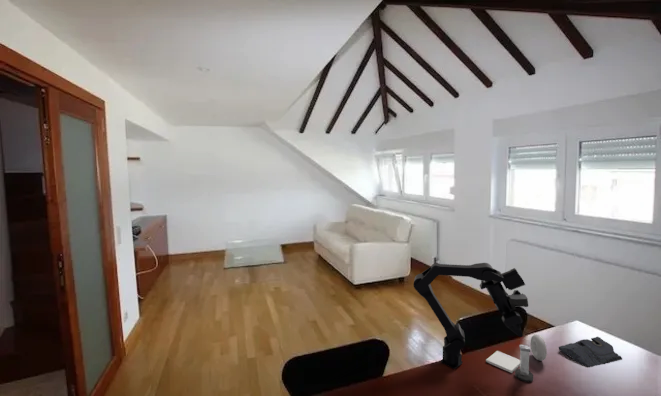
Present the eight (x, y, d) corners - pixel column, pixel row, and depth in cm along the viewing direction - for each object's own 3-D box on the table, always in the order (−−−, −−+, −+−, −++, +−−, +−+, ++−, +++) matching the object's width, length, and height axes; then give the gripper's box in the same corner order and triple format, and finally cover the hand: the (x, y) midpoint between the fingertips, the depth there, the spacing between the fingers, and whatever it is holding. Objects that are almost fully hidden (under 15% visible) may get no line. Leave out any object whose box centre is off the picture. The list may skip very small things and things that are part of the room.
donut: (547, 366, 131) (548, 342, 130) (538, 365, 132) (539, 341, 131) (537, 352, 141) (538, 330, 140) (528, 351, 142) (529, 329, 141)
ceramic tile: (486, 361, 135) (486, 359, 135) (497, 352, 142) (497, 350, 141) (511, 373, 128) (511, 370, 127) (522, 363, 134) (522, 360, 134)
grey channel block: (534, 383, 121) (535, 352, 120) (516, 380, 123) (516, 349, 122) (531, 374, 127) (532, 344, 126) (514, 370, 129) (514, 341, 128)
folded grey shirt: (551, 349, 144) (551, 339, 143) (588, 341, 150) (588, 331, 150) (587, 370, 129) (587, 358, 129) (626, 359, 135) (627, 348, 135)
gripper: (526, 295, 116) (548, 335, 115) (513, 278, 134) (532, 312, 133) (495, 307, 119) (516, 346, 119) (486, 288, 137) (505, 322, 137)
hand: (518, 330), depth 127 cm, fingers open, 9 cm apart
